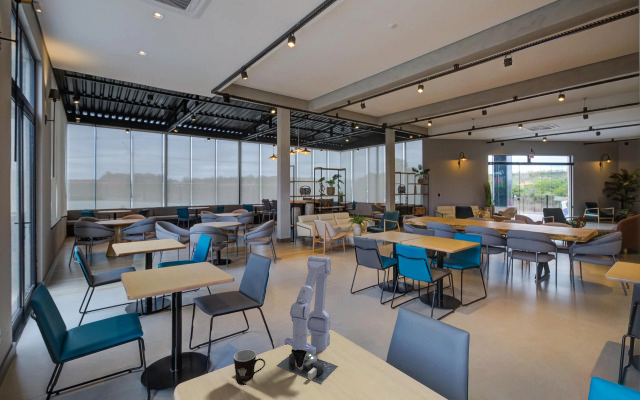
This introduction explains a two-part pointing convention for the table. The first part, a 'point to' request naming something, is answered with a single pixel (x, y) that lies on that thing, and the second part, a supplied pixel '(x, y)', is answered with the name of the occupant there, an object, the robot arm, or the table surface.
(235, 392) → the table surface
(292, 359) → the knob
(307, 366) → the plate
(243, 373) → the coffee mug
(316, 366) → the knob
